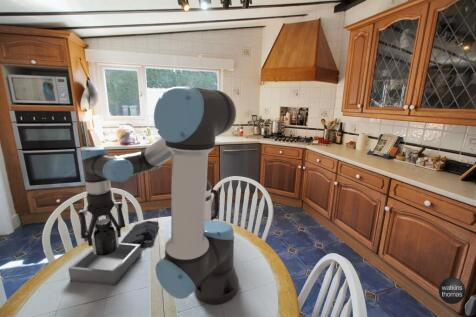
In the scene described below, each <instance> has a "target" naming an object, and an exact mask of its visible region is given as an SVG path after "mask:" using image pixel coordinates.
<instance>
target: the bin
mask: <svg viewBox="0 0 476 317" xmlns="http://www.w3.org/2000/svg"><path fill="white" fill-rule="evenodd" d="M141 256H142V249H141V246H140V244H129V243H121V242H119V247H116V250H115V251H114V252H113V253H111V254H109V255H106V256H99V255H97V254H94V253H93V248H92V249H91V250H89V251H88V252H87V253H86V254H84V255H83V256H81V257H80V258H79V259H78V260H77V261H76V262H74V263H73V264H72V265H70V266H69V267H68V274H69V280H70V282H79V283H87V284H98V285H103V286H104V285H106V286H113V287H115V286H116V285H118V283H119V282H120V281H121V279H123V277H124V276H125V275H126V274H127V273H128V272H129V271H130V269H131V268H132V267H133V266H134V264H135V263H137V261H139V259H140V257H141Z"/></svg>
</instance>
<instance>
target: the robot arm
mask: <svg viewBox="0 0 476 317" xmlns="http://www.w3.org/2000/svg"><path fill="white" fill-rule="evenodd" d="M236 117H237V109H236V105H235V103H234V100H233V99H232V98H231V97H230V95H228V94H227V93H226V92H224V91H221V90H218V89H207V88H201V87H192V86H174V87H171V88H168V89H167V90H165V91H164V92H163V94H162V95H161V96H159V98H158V99H157V101H156V103H155V106H154V113H153V122H154V127H155V128H156V129H157V134H158V135H159V137H160V138H159V139H158V140H156V141H155V142H153V143H152V144H151V145H149V146H148V147H146V148H144V149H143V150H142V151H138V152H132V153H125V154H121V155H117V156H116V155H115V156H110V155H109V154H108V151H107V149H106V147H103V146H93V147H86V148H84V149H82V150H81V162H82V168H83V175H84V176H83V177H84V182H85V183H84V184H85V190H86V198H87V207H86V208H83V209H79V210H78V215H79V217H80V238H81V239H87V244H88V246H89V247H91V248H92V249H93V253H94V254H96V247H95V240H94V234H93V233H94V231H95V228H96V222H97V221H98V218H100V217H102V216H108V217H109V218H108V219H109V220H110V221H111V224H113V227H114V230H115V239H116V247H119V243H120V242H119V238H121V237H122V233H121V231H122V229H123V228H125V227H126V224H125V218H124V215H123V203H122V202H121V201H118V202H114V200H113V195H112V185H111V182H115V183H116V182H117V183H125V182H127V181H128V180H130V178H131V177H132V176H135V175H138V174H142V173H146V172H150V171H154V170H157V169H159V168H161V167H162V166H163V164H164V163H166V162H167V161H169V160H171V215H170V216H171V217H170V218H171V223H170V224H171V225H170V226H171V227H170V229H171V230H170V231H171V234H170V237H169V238H168V239H167V240H166V242H165V246H164V249H165V250H164V257H163V258H160V259H159V261H157V263H156V265H155V269H154V270H155V276H156V278H157V280H158V282H159V284H160V286H161V287H162V288H163V290H164V291H165V292H167V293H168V294H169V295H170V296H171V297H173V298H175V299H179V300H182V299H186V298H188V297H189V296H191V294H193V293H194V295H195V296H196V298H197V299H198V300H199V301H200V302H203V303H205V304H209V305H220V304H224V303H227V302H229V301H230V300H232V299H233V298H234V297H235V296H236V295H237V293H238V291H239V284H240V283H239V278H238V275H237V274H238V273H237V271H236V268H235V265H234V258H235V257H234V255H235V254H234V253H235V252H234V247H235V246H234V245H235V241H234V240H235V236H234V235H235V234H234V233H235V232H234V228H233V226H232V225H231V224H230V223H227V222H226V221H222V220H212V221H205V205H206V186H207V181H208V165H209V163H208V162H209V154H210V153H211V152H212V151H213V150H214V149H215V146H216V137H219V136H220V135H222V134H224V133H225V134H226V132H228V131H229V130H230V129H231V128H232V127H233V125H234V124H235V121H236ZM114 207H115V209H116V211H117V215H118V219H119V223H118V222H117V220H116V218H115V216H114V215H113V214H112V212H111V211H112V210H113V208H114ZM88 213H90V214H91V219H90V222H89V226H88V229H87V232H86V216H87V215H88Z"/></svg>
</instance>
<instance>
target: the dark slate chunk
mask: <svg viewBox="0 0 476 317" xmlns="http://www.w3.org/2000/svg"><path fill="white" fill-rule="evenodd" d="M159 224H160V223H159V222H158V221H156V220H145V221H143V222H139V223H136V224H134V225H133V227H132V228H131V230H129V232H127V233H126V235H125V236H124V237H123V239H122V240H121V242H120V243H129V244H140V246H141V250H143V249H147V248H151V247H153V246H154V243H155V240H156V236H157V233H158V227H159Z"/></svg>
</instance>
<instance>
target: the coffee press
mask: <svg viewBox="0 0 476 317" xmlns="http://www.w3.org/2000/svg"><path fill="white" fill-rule="evenodd" d="M212 194H213V195H214V196H213V197H214V212H213V209H212V207H213V206H212V200H213V199H212ZM219 206H220V205H219V193H218V191H217V190H216V189H213V188H212V184H211V182H210V181H209V180H207V186H206V205H205V221H215V219H216V218H217V216H218V215H219V209H220V208H219Z"/></svg>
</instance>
